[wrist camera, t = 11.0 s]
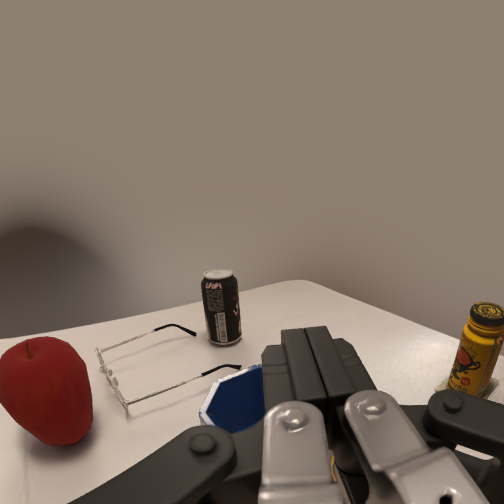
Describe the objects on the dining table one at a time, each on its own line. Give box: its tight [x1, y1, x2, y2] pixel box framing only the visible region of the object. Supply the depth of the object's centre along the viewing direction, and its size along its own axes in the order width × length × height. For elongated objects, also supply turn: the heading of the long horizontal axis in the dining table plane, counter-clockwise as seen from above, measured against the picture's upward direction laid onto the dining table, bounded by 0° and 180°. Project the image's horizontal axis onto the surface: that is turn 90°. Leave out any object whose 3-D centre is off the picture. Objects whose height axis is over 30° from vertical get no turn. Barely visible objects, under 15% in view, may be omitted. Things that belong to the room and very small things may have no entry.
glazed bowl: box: [199, 364, 333, 461], centre depth 24 cm, size 11×11×8 cm
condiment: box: [435, 302, 504, 399], centre depth 28 cm, size 7×8×12 cm
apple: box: [0, 336, 93, 446], centre depth 25 cm, size 12×12×13 cm
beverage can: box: [201, 268, 242, 345], centre depth 48 cm, size 6×6×12 cm
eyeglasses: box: [95, 324, 242, 408], centre depth 40 cm, size 16×19×5 cm
